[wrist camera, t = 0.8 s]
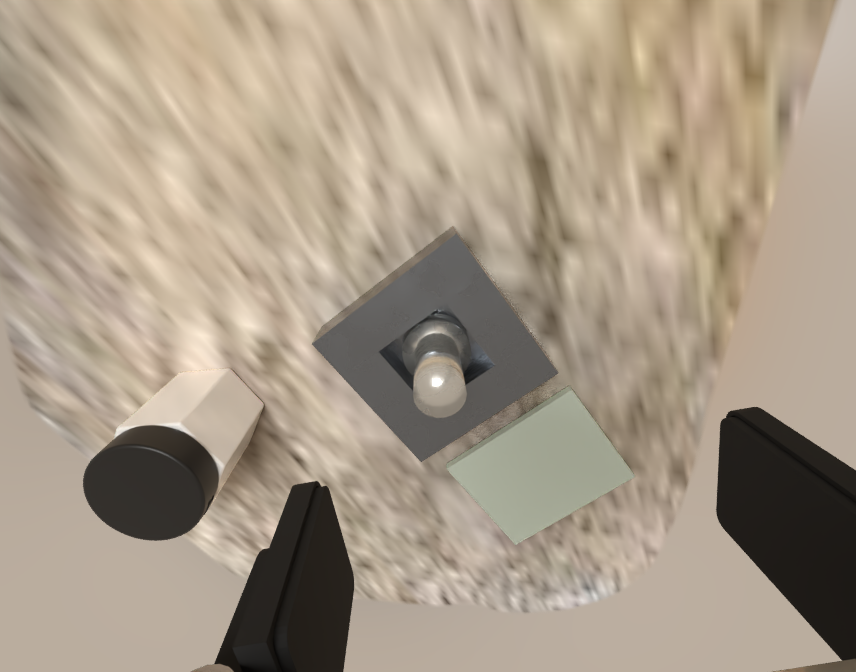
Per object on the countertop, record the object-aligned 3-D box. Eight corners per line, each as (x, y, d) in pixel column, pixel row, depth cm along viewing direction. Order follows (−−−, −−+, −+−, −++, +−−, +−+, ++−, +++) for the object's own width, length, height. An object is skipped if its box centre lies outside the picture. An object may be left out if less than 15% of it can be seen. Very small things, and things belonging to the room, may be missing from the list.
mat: (569, 385, 42) (571, 389, 41) (632, 471, 46) (635, 476, 45) (446, 464, 45) (446, 469, 44) (514, 539, 49) (515, 545, 48)
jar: (181, 448, 44) (99, 547, 33) (155, 371, 41) (56, 451, 30) (274, 441, 44) (223, 537, 33) (255, 363, 41) (192, 440, 30)
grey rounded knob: (442, 300, 38) (448, 340, 30) (481, 349, 40) (497, 401, 31) (390, 338, 39) (381, 387, 31) (429, 385, 41) (431, 444, 32)
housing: (453, 226, 37) (456, 233, 33) (546, 353, 41) (558, 373, 37) (322, 326, 40) (311, 343, 36) (421, 436, 44) (421, 462, 40)
